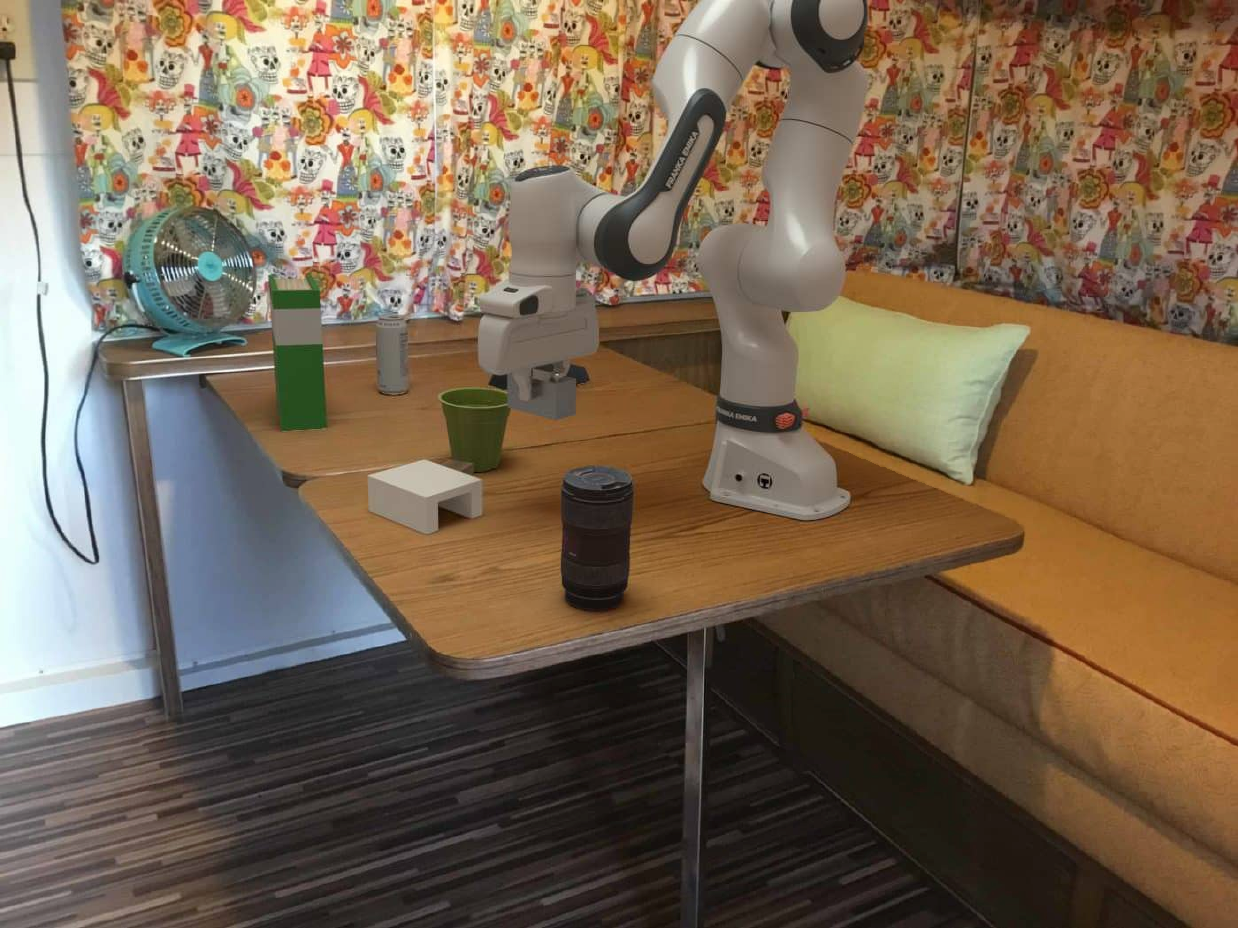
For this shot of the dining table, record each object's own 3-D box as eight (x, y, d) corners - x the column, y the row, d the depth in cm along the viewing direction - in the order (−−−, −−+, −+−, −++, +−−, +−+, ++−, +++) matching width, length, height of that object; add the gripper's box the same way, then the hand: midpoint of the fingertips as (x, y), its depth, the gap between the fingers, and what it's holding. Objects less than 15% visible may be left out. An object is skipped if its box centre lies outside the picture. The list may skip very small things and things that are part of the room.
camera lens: (544, 596, 118) (546, 474, 113) (595, 577, 124) (599, 459, 119) (591, 621, 113) (596, 493, 108) (643, 600, 118) (649, 478, 114)
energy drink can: (382, 387, 204) (379, 313, 200) (412, 389, 204) (410, 314, 199) (374, 395, 199) (371, 318, 194) (405, 396, 198) (403, 320, 194)
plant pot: (458, 482, 153) (457, 410, 150) (426, 460, 163) (425, 391, 159) (528, 471, 160) (528, 401, 156) (493, 450, 169) (493, 384, 166)
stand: (482, 514, 141) (482, 479, 140) (426, 534, 134) (425, 497, 132) (424, 493, 149) (424, 459, 147) (368, 511, 141) (367, 475, 139)
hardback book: (276, 405, 189) (268, 274, 182) (318, 403, 192) (311, 274, 184) (281, 432, 174) (272, 291, 166) (327, 429, 176) (319, 290, 169)
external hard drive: (483, 389, 209) (483, 369, 207) (547, 374, 223) (547, 355, 222) (530, 401, 201) (530, 381, 200) (593, 384, 216) (594, 365, 214)
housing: (575, 414, 139) (576, 372, 137) (555, 420, 136) (556, 377, 134) (527, 401, 144) (527, 361, 142) (507, 407, 141) (507, 366, 139)
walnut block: (473, 488, 152) (473, 463, 150) (460, 497, 148) (460, 471, 147) (449, 484, 153) (449, 459, 151) (436, 493, 149) (435, 467, 148)
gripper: (576, 283, 144) (575, 378, 149) (469, 299, 129) (470, 405, 133) (611, 288, 140) (608, 386, 145) (504, 306, 125) (505, 414, 130)
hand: (541, 395), depth 139 cm, fingers closed on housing, 4 cm apart
